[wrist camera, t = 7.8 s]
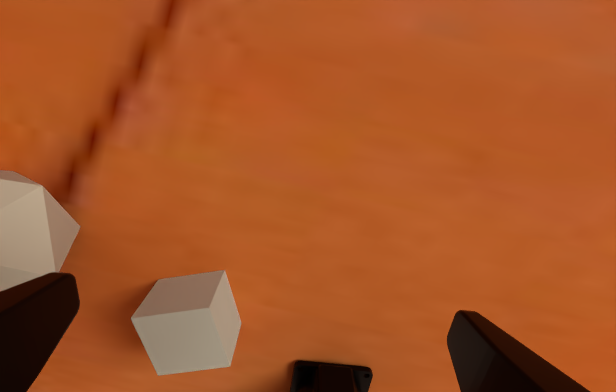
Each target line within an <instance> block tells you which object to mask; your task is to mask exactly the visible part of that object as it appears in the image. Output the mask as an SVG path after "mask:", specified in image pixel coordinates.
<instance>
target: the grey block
mask: <svg viewBox="0 0 616 392" xmlns="http://www.w3.org/2000/svg"><path fill="white" fill-rule="evenodd" d="M131 320H132V322H133V325H134V327H135V329H136V331H137V333H138V335H139V337H140V339H141V341H142V343H143V345H144V347H145V349H146V351H147V354H148V356H149V358H150V360H151V362H152V364H153V366H154V368H155V370H156V372H157V374H158V375H166V374H174V373H182V372H191V371H199V370H207V369H215V368H223V367H230V365H231V361H232V357H233V354H234V350H235V346H236V342H237V338H238V334H239V331H240V327H241V320H240V317H239V313H238V310H237V307H236V304H235V301H234V298H233V294H232V291H231V288H230V285H229V282H228V279H227V275H226V272H225V270H221V271H214V272H207V273H200V274H193V275H186V276H179V277H172V278H165V279H158V281H157V282H156V283H155V285H154V286H153V288H152V289H151V290H150V292H149V293H148V295H147V296H146V297H145V299H144V300H143V302H142V303H141V304H140V306H139V307H138V309H137V310H136V311H135V313H134V314H133V316H132V317H131Z"/></svg>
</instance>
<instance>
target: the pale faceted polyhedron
mask: <svg viewBox="0 0 616 392" xmlns="http://www.w3.org/2000/svg"><path fill="white" fill-rule="evenodd" d="M79 229H80V226H79V225H78V224H77V222H76V221H75V220H74V219H73V218H72V217H71V216H70V215H69V214H68V213H67V212H66V211H65V210H64V208H63V207H62V206H61V205H60V204H59V203H58V202H57V201H56V200H55V199H54V198H53V197H52V196H51V195H50V193H49V192H48V191H47V190H46V189H45V188H44V187H43V186H42V185H40V184H38V183H36V182H34V181H32V180H30V179H28V178H26V177H24V176H22V175H20V174H18V173H16V172H14V171H4V170H0V291H3V290H5V289H8V288H11V287H13V286H16V285H19V284H21V283H24V282H27V281H29V280H32V279H35V278H37V277H40V276H43V275H45V274H48V273H51V272H59V271H60V269H61V267H62V265H63V263H64V261H65V259H66V256H67V254H68V252H69V250H70V248H71V246H72V244H73V242H74V240H75V237H76V235H77V233H78V231H79Z"/></svg>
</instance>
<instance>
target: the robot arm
mask: <svg viewBox="0 0 616 392" xmlns="http://www.w3.org/2000/svg"><path fill="white" fill-rule="evenodd" d="M79 306H80V300H79V295H78V289H77V284H76V279H75V277H74V276H73V275H72V274H70V273H61V272H51V273H48V274H45V275H43V276H40V277H37V278H35V279H32V280H29V281H27V282H24V283H21V284H19V285H16V286H13V287H11V288H8V289H5V290H3V291H0V392H27V390H28V389H29V387H30V386H31V385H32V383H33V382H34V381H35V379H36V378H37V376H38V375H39V373H40V372H41V370H42V369H43V367H44V365H45V364H46V362H47V361H48V359H49V357H50V356H51V354H52V353H53V351H54V349H55V348H56V346H57V345H58V343H59V341H60V340H61V338H62V337H63V335H64V333H65V332H66V330H67V329H68V327H69V325H70V324H71V322H72V321H73V319H74V317H75V316H76V314H77V312H78V310H79ZM447 345H448V349H449V352H450V356H451V359H452V363H453V366H454V370H455V373H456V376H457V380H458V383H459V387H460V390H461V392H590V391H589V390H587V389H586V388H584V387H583V386H582V385H580V384H579V383H577V382H576V381H574V380H573V379H572V378H570V377H569V376H567V375H566V374H564V373H563V372H562V371H560V370H559V369H557V368H556V367H554V366H553V365H552V364H550V363H549V362H547V361H546V360H544V359H543V358H542V357H540V356H539V355H537V354H536V353H534V352H533V351H532V350H530V349H529V348H527V347H526V346H524V345H523V344H522V343H520V342H519V341H517V340H516V339H514V338H513V337H512V336H510V335H509V334H507V333H506V332H505V331H503V330H502V329H500V328H499V327H497V326H496V325H495V324H493V323H492V322H490V321H489V320H487V319H486V318H485V317H483V316H482V315H480V314H479V313H477V312H475V311H466V310H459V311H458V312H457V313H456V314H455V316H454V319H453V322H452V324H451V327H450V330H449V332H448V335H447ZM372 377H373V374H372V370H371V369H370V368H368V367H360V366H350V365H339V364H329V363H319V362H308V361H297V362H296V363H295V365H294V371H293V376H292V382H291V388H290V392H368V390H369V387H370V383H371V380H372Z"/></svg>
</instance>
